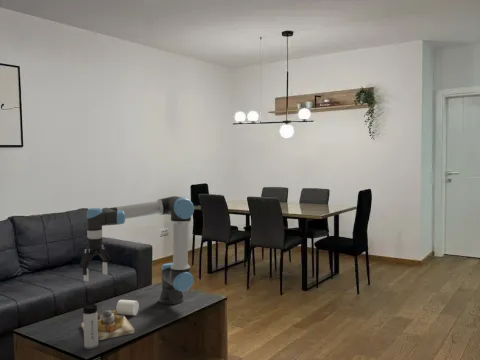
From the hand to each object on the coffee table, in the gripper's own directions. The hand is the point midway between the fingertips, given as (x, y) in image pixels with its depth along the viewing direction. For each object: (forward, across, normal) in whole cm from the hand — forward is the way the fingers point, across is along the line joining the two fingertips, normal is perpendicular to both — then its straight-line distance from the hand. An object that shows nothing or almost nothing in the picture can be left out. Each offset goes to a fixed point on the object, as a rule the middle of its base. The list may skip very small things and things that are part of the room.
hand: (95, 277), depth 231 cm
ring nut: (+23, +4, +11) cm, 26 cm away
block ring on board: (+25, +3, +10) cm, 27 cm away
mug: (+26, -20, +5) cm, 33 cm away
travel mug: (+26, +22, +17) cm, 37 cm away
